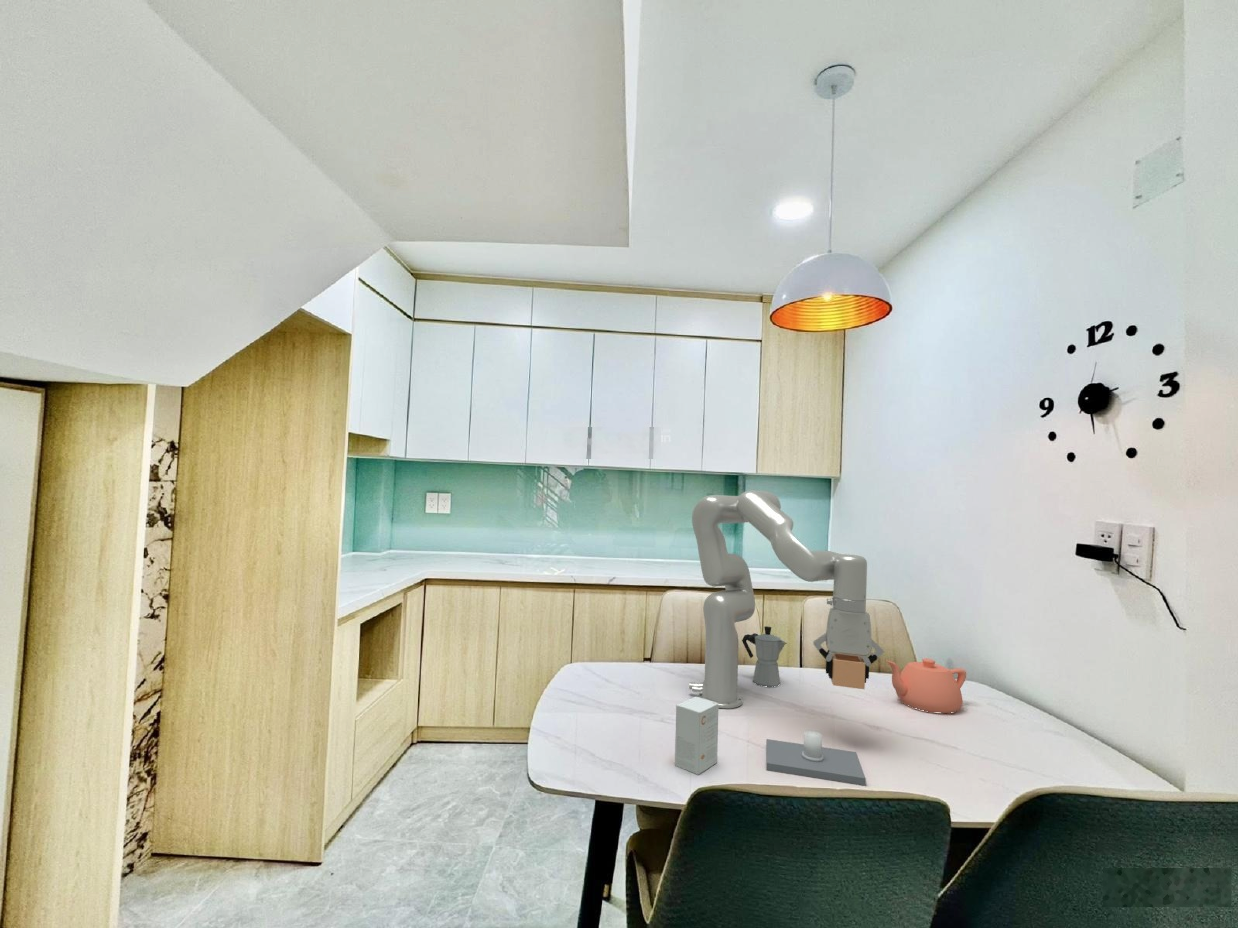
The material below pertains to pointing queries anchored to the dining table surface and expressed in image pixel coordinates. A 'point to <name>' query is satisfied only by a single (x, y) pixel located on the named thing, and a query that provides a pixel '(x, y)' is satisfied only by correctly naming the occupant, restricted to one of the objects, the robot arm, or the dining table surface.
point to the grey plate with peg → (814, 760)
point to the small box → (696, 734)
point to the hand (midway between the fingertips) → (846, 678)
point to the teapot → (929, 686)
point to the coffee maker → (765, 657)
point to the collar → (848, 671)
